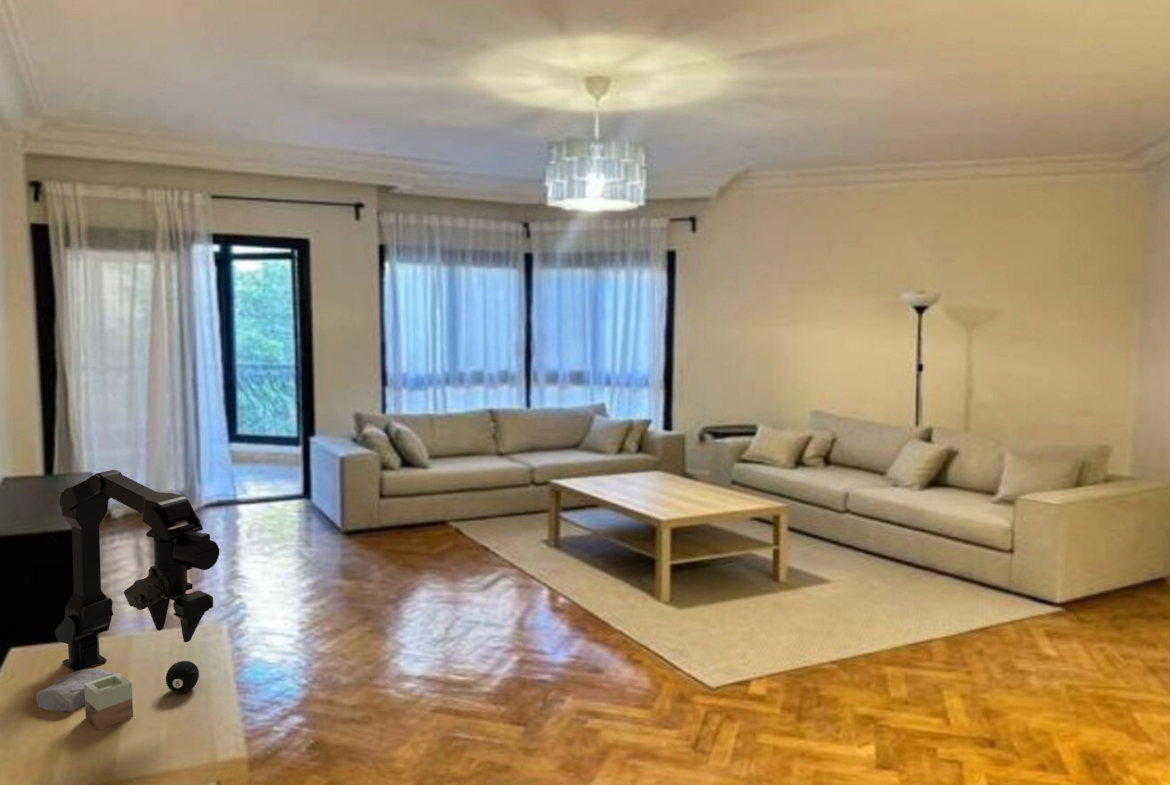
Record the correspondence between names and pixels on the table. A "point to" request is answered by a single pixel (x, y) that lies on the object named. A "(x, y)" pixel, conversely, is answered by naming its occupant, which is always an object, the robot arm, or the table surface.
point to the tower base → (109, 714)
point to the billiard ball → (182, 676)
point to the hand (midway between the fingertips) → (173, 635)
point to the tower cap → (108, 691)
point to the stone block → (69, 690)
